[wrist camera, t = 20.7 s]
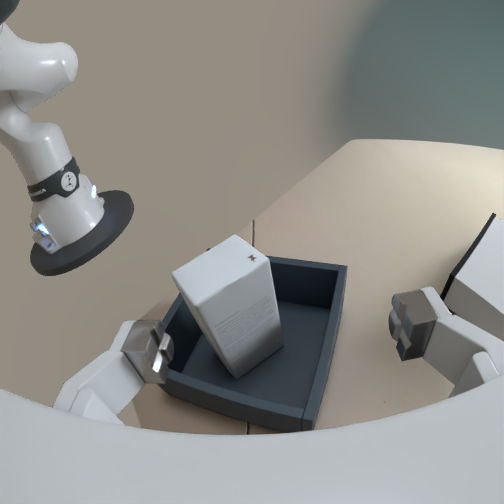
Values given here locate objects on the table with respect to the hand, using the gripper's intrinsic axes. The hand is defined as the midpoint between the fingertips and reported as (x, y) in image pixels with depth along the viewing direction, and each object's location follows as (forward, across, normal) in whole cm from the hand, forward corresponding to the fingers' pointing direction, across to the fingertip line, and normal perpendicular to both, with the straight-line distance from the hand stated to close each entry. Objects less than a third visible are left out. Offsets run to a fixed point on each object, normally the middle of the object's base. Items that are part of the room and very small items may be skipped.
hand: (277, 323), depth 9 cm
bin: (+12, +3, +16) cm, 20 cm away
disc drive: (+10, -31, +17) cm, 37 cm away
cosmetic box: (+12, +4, +15) cm, 20 cm away
